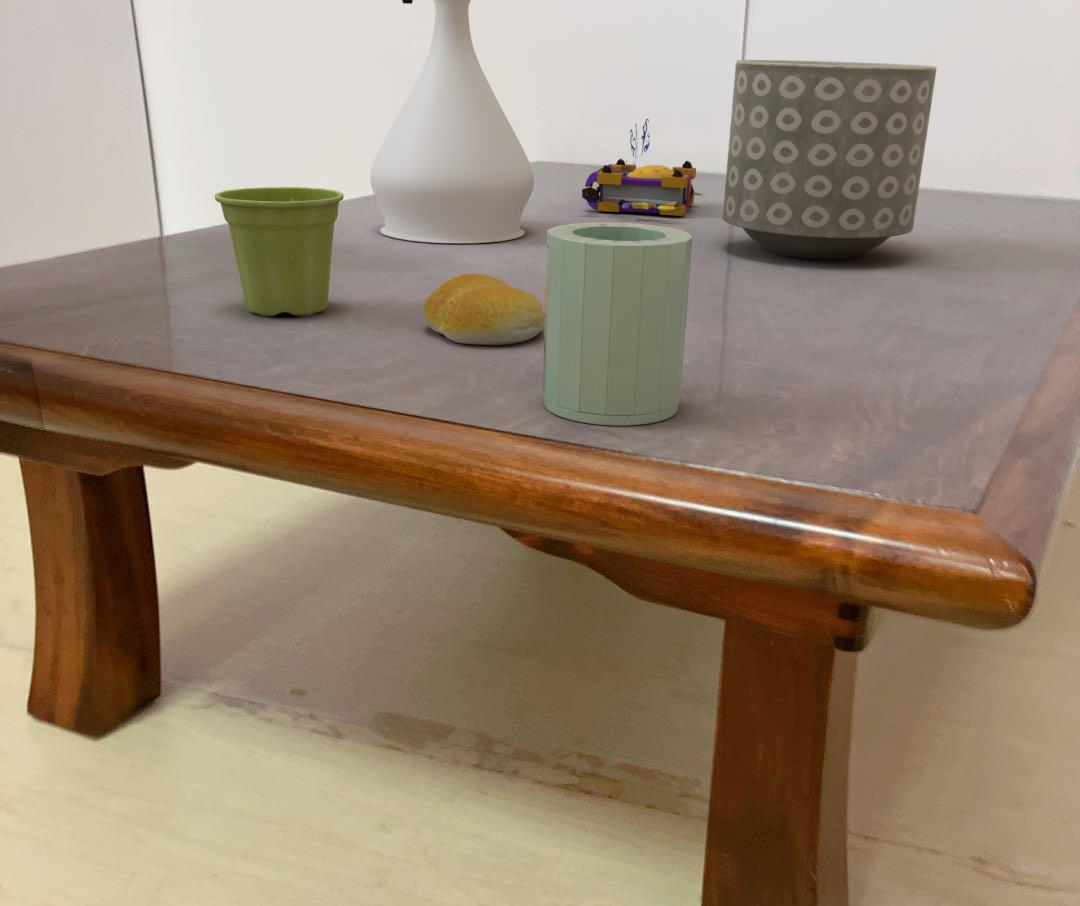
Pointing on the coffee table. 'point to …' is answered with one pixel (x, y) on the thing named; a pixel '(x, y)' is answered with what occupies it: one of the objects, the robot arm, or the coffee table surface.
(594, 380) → the cup
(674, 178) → the multicoloured boxy piece
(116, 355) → the coffee table surface
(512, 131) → the vase
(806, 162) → the planter
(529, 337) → the bread roll
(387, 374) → the coffee table surface
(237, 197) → the plant pot
